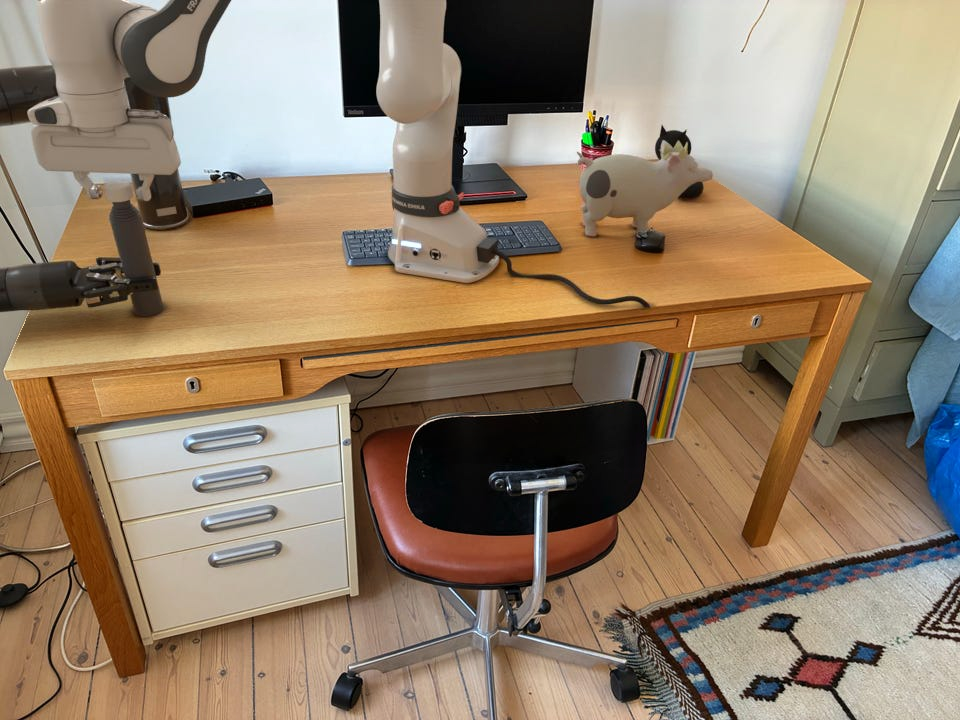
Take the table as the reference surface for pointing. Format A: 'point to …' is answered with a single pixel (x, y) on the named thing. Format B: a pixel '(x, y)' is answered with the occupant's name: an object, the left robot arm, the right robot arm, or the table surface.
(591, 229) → the figurine
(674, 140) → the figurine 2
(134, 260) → the bottle
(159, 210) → the left robot arm
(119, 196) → the cap
